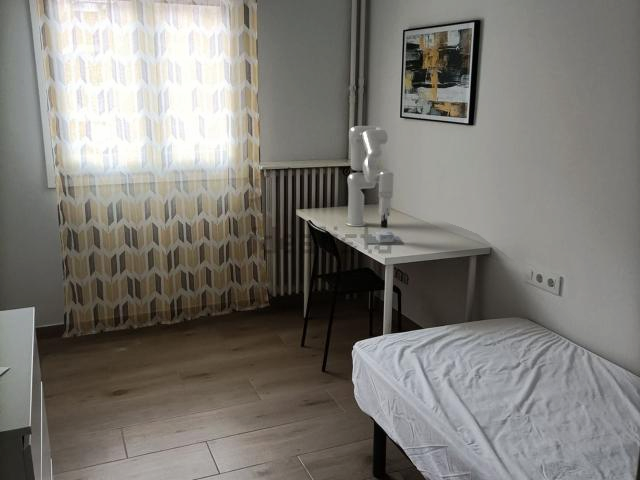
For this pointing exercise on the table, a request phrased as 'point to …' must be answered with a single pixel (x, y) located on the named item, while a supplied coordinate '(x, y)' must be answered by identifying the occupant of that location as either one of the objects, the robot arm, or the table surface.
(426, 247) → the table surface
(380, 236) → the medicine box
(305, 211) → the table surface
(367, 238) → the rubber mat
